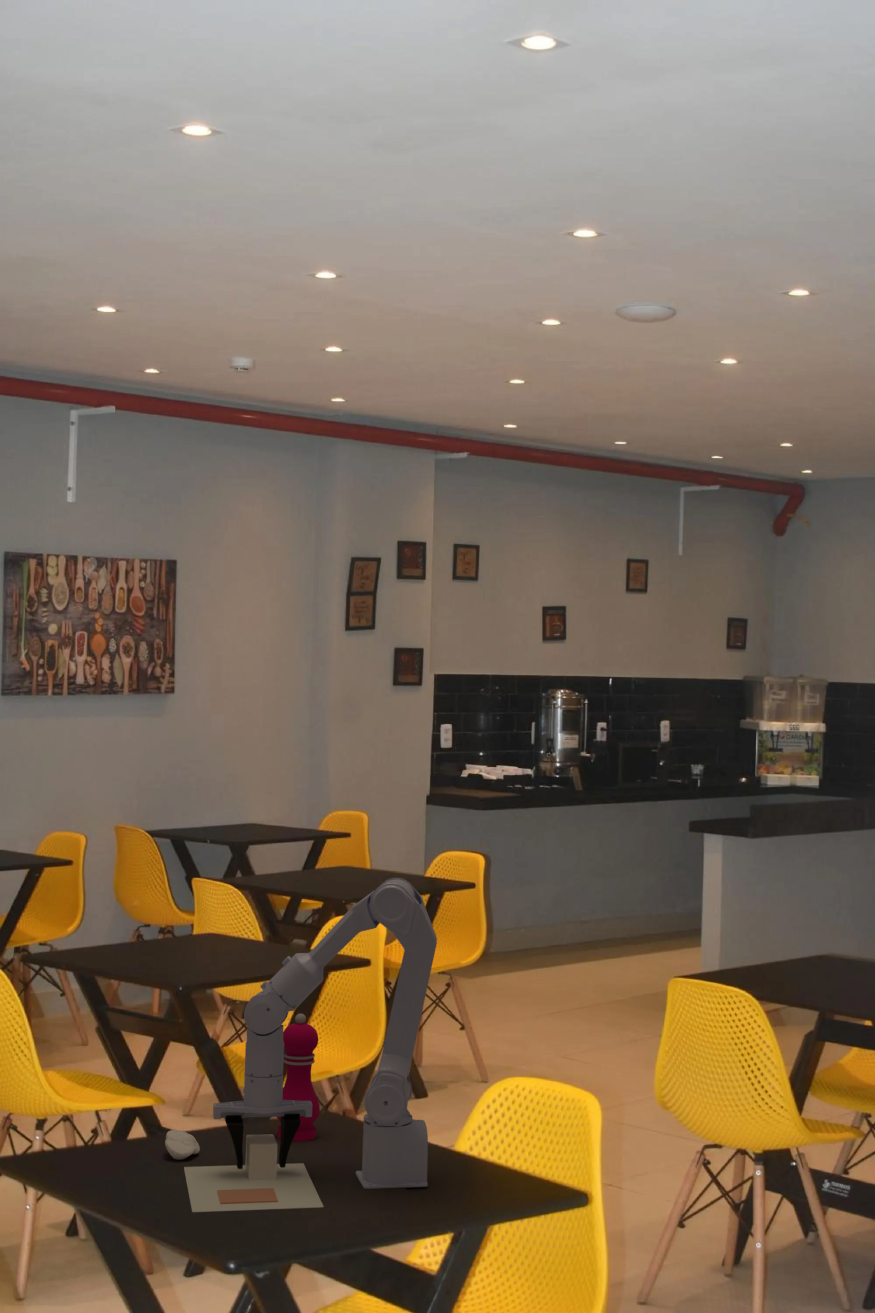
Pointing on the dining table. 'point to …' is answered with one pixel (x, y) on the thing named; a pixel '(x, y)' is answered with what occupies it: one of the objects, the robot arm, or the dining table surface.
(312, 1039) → the pepper mill
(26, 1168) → the dining table surface
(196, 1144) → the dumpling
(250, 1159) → the plain grayish brown block
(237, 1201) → the flat orange brown slab
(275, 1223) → the dining table surface
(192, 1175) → the mat
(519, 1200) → the dining table surface
